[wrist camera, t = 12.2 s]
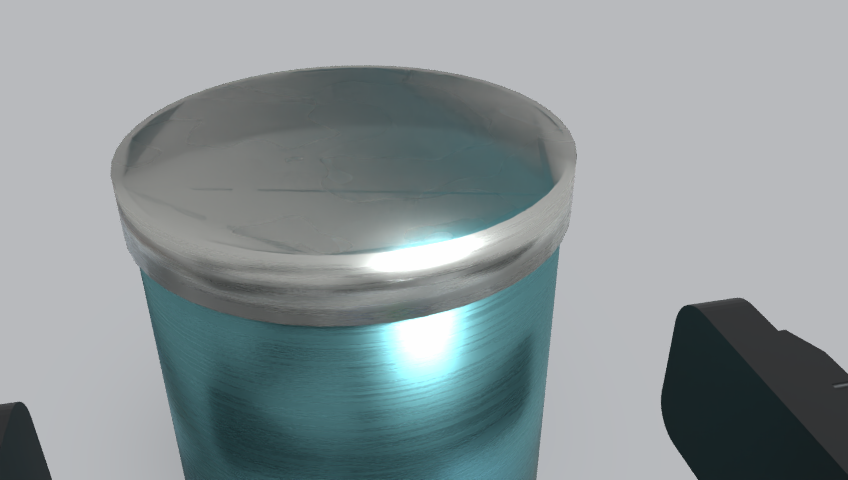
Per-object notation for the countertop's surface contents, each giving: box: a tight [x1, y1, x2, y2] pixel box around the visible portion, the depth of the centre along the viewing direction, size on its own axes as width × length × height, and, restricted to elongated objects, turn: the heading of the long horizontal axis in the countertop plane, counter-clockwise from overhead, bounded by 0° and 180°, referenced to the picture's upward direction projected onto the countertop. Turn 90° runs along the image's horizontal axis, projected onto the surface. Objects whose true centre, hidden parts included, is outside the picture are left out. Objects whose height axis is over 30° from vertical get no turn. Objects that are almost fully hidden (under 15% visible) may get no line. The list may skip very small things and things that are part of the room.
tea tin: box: [111, 65, 577, 480], centre depth 13 cm, size 6×6×11 cm
